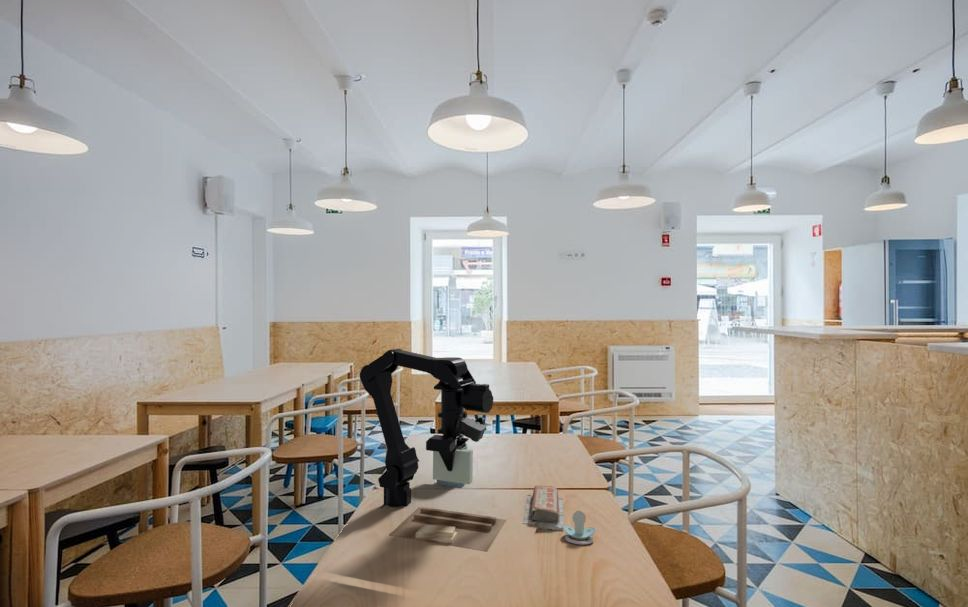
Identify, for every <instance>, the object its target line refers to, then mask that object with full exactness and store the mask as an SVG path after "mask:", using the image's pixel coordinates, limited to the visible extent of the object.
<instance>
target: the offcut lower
mask: <svg viewBox="0 0 968 607" xmlns="http://www.w3.org/2000/svg"><path fill="white" fill-rule="evenodd" d="M423 528H424V527H421V528H420V529H419V530H418V531H417V532H416V538H420V539H426V540H432V541H438V542H445V543H451V544H452V543H453V542H454V541H455V539H456V538H457V537H458V532H455V533H454V535H453V537H441V536H426V535H422V530H423Z"/></svg>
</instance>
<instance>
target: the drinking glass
mask: <svg viewBox="0 0 968 607" xmlns="http://www.w3.org/2000/svg"><path fill="white" fill-rule="evenodd" d="M461 449H468V443H467V442H466V443H464V444H463V445H462V447H461ZM436 485H437V486H439V487H444V488H445V487H446V488H452V489H453V488H454V489H462V488H463V487H464V486H465V485H466V484H463V483H456V482H449V481H442V480H436Z"/></svg>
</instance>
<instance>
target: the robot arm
mask: <svg viewBox="0 0 968 607" xmlns="http://www.w3.org/2000/svg"><path fill="white" fill-rule="evenodd" d="M399 367H402V368H406V369H411V370H415V371H420V372H423V373H426V374H429V375H431V376H432V377H433V378H434V379H436V380H439V381H438V383H436V384H435V385H434V386H433V390H437V391H441V392H440V398H441V399H440V412H438V413H437V417H438V418H440V428H438V429H437V434H434V435H432V436H431V437H428V439H427V440H426V442H425V450H426V451H430V452H433V451H437V452H439V454H440V456H441V458H442V460H443V462H444V464H445V466H446V468H447V470H448V471H452V469H453V463H454V456H455V451H456V450H457V449H458V448H460V449H461V447H462V445H463V444H464V443H466V444H467V442H468V441H469V439H470V440H471V441H472V442H475V443H479V442H480V440H481V439H483V437H484V434H485V432H486V431H487V424H486V418H485V417H482V416H478V417H477V418H469V417H468V412H467V411H470V412H478V413H483V414H484V413H485V414H488V413H490V412H491V410H492V408H493V406H494V405H493V404H494V396H493V392H492V391H491V389H490V384H488V383H481V384H480V383H477V382H476V380H475V378H474V377H473V375H472V373H471V372H470V369H469V368H468V364H467V362H466V360H465V359H463V358H462V357H451V356H450V357H448V356H447V357H435V356H429V355H425V354H421V353H417V352H412V351H407V350H403V349H402V348H393V349H389V350H387V351H386V352H384V353H383V354H382V355H380V356H379V357H377V358H376V359H374V360H373V361H371V362H370V363H368V364H365V365H364V366H362V368H361V369H360V372H359V379H360V383H361V384H362V386H363V389H364V391H366V393H367V394H368V395H370V397H371V398H372V400H373V404H374V407H375V410H376V415H377V417H378V418H377V419H378V421H379V425H380V429H381V432H382V435H383V439H384V442H385V446H386V455H385V460H384V464H385V471H384V472H383V473H382V474H381V475H380V476H379V477H378V479H377V481H378V484H379V487H381V488H383V503H382V504H381V506H380V509H381V510H382V509H383V508H384V507H386V506H387V507H391V508H400V507H408V506H409V505H410V504H411V503H412V488H410V487H411V486H410V485H411V484H410V481H412V480H414V477H415V474H416V473H417V472H418V469H419V462H420V459H419V457H418V456H417V449H416V447H415V446H413V447H410V446H408V444H407V443H406V442H405V439H404V438H405V437H404V434H403V431H402V428H401V425H400V420H399V418H398V414H397V411H396V407H395V404H394V401H393V397H392V393H391V391H392V385H393V375H392V374H394V373H395V372H396V371H397V370H398V368H399Z"/></svg>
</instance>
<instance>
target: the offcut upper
mask: <svg viewBox="0 0 968 607" xmlns="http://www.w3.org/2000/svg"><path fill="white" fill-rule="evenodd" d="M454 533H455V527H451V526H435V525H425V526H424V528H423V530H422V535H426V536H441V537H453V535H454Z"/></svg>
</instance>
